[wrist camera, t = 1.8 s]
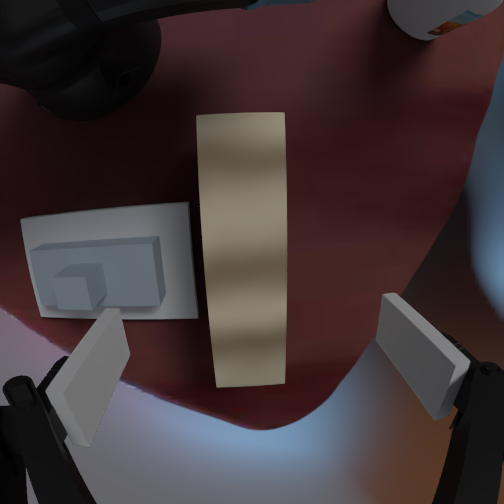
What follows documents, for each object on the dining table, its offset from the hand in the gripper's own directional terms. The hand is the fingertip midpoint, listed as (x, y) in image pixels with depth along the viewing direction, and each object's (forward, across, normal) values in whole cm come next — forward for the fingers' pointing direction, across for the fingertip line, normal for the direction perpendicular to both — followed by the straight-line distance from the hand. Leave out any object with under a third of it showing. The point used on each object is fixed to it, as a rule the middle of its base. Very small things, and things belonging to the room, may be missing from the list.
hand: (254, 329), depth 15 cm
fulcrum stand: (+18, -15, -2) cm, 23 cm away
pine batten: (+15, 0, 0) cm, 15 cm away
